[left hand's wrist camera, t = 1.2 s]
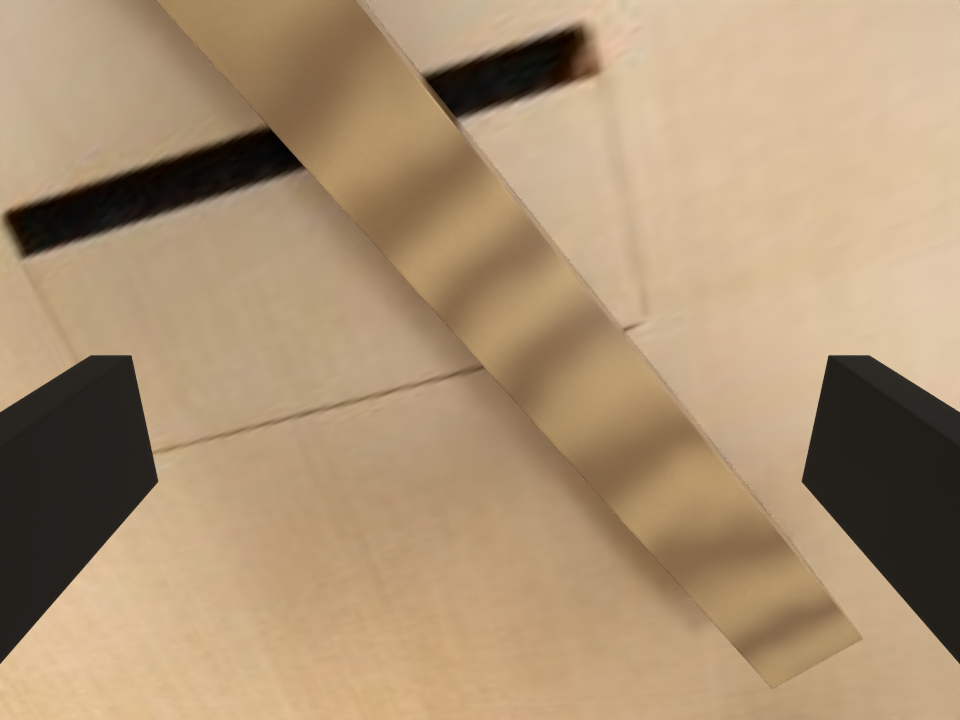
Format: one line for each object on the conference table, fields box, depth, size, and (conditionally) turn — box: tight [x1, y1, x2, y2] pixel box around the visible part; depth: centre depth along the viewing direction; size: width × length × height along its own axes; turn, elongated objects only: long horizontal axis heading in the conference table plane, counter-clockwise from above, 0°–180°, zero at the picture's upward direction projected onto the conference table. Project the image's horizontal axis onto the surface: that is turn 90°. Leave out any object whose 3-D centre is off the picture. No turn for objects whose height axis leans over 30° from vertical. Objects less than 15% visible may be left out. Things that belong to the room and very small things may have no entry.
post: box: [156, 0, 863, 689], centre depth 29 cm, size 68×6×8 cm, turn 40°
